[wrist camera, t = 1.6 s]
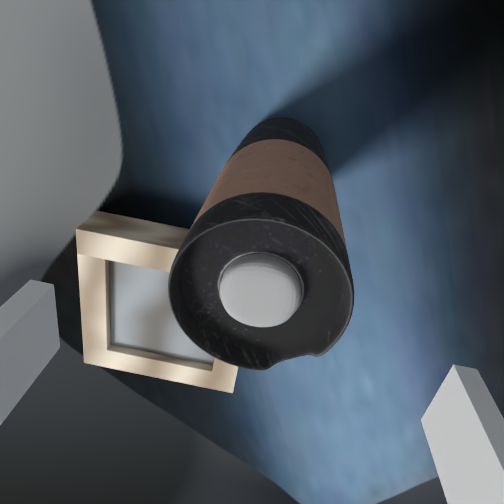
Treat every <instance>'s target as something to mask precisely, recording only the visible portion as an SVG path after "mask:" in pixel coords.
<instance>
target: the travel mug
mask: <svg viewBox="0 0 504 504" xmlns="http://www.w3.org/2000/svg"><path fill="white" fill-rule="evenodd" d="M168 296H169V302H170V306H171V310H172V312H173V315H174V317H175V319H176V321H177V323H178V325H179V326H180V328H181V329H182V330H183V332H184V333H185V334H186V336H187V337H188V338H189V339H190V340H191V341H192V342H193V343H194V344H195V345H197V346H198V347H199V348H200V349H202V350H203V351H205V352H206V353H208V354H209V355H211V356H213V357H214V358H216V359H218V360H220V361H223V362H225V363H228V364H230V365H234V366H237V367H241V368H245V369H251V370H266V369H268V368H270V367H271V366H273V365H274V364H276V363H278V362H281V361H284V360H287V359H291V358H295V357H299V356H305V355H312V356H315V357H318V356H321V355H323V354H324V353H326V352H327V351H328V350H329V349H331V348H332V346H333V345H334V344H335V343H336V342H337V341H338V340H339V338H340V337H341V336H342V334H343V333H344V331H345V329H346V327H347V326H348V324H349V321H350V318H351V315H352V311H353V306H354V287H353V279H352V274H351V269H350V264H349V259H348V254H347V249H346V244H345V239H344V234H343V228H342V223H341V218H340V213H339V208H338V203H337V198H336V193H335V188H334V184H333V180H332V177H331V174H330V171H329V168H328V164H327V161H326V158H325V155H324V152H323V150H322V147H321V145H320V142H319V141H318V139H317V137H316V136H315V134H314V133H313V132H312V131H311V130H310V129H309V128H308V127H306V126H305V125H303V124H302V123H300V122H298V121H295V120H292V119H287V118H276V119H271V120H267V121H264V122H262V123H260V124H259V125H257V126H256V127H254V128H253V129H252V130H251V131H250V132H249V133H248V134H247V135H246V137H245V138H244V139H243V140H242V142H241V143H240V145H239V146H238V147H237V149H236V150H235V152H234V153H233V154H232V156H231V157H230V159H229V160H228V161H227V163H226V164H225V166H224V168H223V169H222V171H221V173H220V175H219V177H218V178H217V180H216V182H215V184H214V186H213V188H212V190H211V191H210V193H209V195H208V197H207V199H206V201H205V202H204V204H203V206H202V208H201V210H200V212H199V214H198V215H197V217H196V219H195V221H194V223H193V225H192V226H191V228H190V230H189V232H188V234H187V236H186V237H185V239H184V241H183V243H182V245H181V247H180V248H179V250H178V252H177V254H176V256H175V259H174V261H173V264H172V266H171V270H170V274H169V279H168Z"/></svg>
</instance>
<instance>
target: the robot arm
mask: <svg viewBox="0 0 504 504" xmlns="http://www.w3.org/2000/svg"><path fill="white" fill-rule="evenodd" d="M59 348H60V344H59V333H58V323H57V313H56V303H55V293H54V284H49V283H44V282H39V281H33V280H30V281H29V282H28V283H27V284H25V285H24V286H23V287H22V288H21V289H20V290H19V291H18V292H17V293H15V294H14V296H12V297H11V298H10V299H9V300H8V301H7V302H6V303H4V304H3V305H2V306H1V307H0V425H1V423H2V422H3V421H4V420H5V418H6V417H7V416H8V414H9V413H10V412H11V410H12V409H13V408H14V406H15V405H16V404H17V403H18V401H19V400H20V399H21V397H22V396H23V395H24V393H25V392H26V391H27V389H28V388H29V387H30V386H31V384H32V383H33V382H34V380H35V379H36V377H37V376H38V375H39V374H40V373H41V371H42V370H43V369H44V367H45V366H46V365H47V363H48V362H49V361H50V359H51V358H52V357H53V356H54V354H55V353H56V352H57V350H58V349H59ZM421 422H422V425H423V428H424V431H425V434H426V437H427V441H428V444H429V447H430V450H431V453H432V456H433V459H434V462H435V465H436V469H437V472H438V475H439V478H440V481H441V484H442V487H443V490H444V493H445V496H446V500H447V503H448V504H504V419H503V417H502V415H501V413H500V411H499V409H498V407H497V406H496V404H495V402H494V400H493V398H492V396H491V394H490V393H489V391H488V389H487V387H486V385H485V383H484V381H483V380H482V378H481V376H480V374H479V372H478V370H477V369H473V368H468V367H463V366H458V365H453V366H452V368H451V370H450V371H449V373H448V375H447V376H446V378H445V380H444V382H443V383H442V385H441V387H440V388H439V390H438V392H437V393H436V395H435V397H434V399H433V400H432V402H431V404H430V405H429V407H428V409H427V411H426V412H425V414H424V416H423V417H422V419H421Z"/></svg>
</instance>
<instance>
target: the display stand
mask: <svg viewBox="0 0 504 504" xmlns="http://www.w3.org/2000/svg"><path fill="white" fill-rule="evenodd" d="M189 230H190V229H186V228H181V227H176V226H171V225H166V224H161V223H156V222H151V221H146V220H141V219H136V218H131V217H126V216H121V215H116V214H111V213H106V212H101V211H96V212H95V213H94V214H92V215H91V216H90V217H89V218H88V219H87V220H86V221H84V222H83V223H82V224H81V225H80V226H79V227H77V228H76V239H77V255H78V271H79V287H80V303H81V319H82V335H83V351H84V362H85V363H88V364H93V365H98V366H103V367H107V368H112V369H117V370H122V371H127V372H132V373H137V374H142V375H146V376H151V377H156V378H161V379H166V380H171V381H176V382H181V383H185V384H190V385H195V386H200V387H205V388H210V389H215V390H220V391H224V392H229V393H233V389H234V384H235V380H236V375H237V370H238V367H237V366H234V365H230V364H228V363H225V362H223V361H220V360H218V359H216V358H214V357H213V356H211V355H209V354H208V353H206V352H205V351H203V350H202V349H200V348H199V347H198V346H197V345H195V344H194V343H193V342H192V341H191V340H190V339H189V338H188V337H187V336H186V334H185V333H184V332H183V330H182V329H181V328H180V326H179V325H178V323H177V321H176V319H175V317H174V315H173V312H172V310H171V306H170V302H169V296H168V279H169V274H170V270H171V266H172V264H173V261H174V259H175V256H176V254H177V252H178V250H179V248H180V247H181V245H182V243H183V241H184V239H185V237H186V236H187V234H188V232H189Z"/></svg>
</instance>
